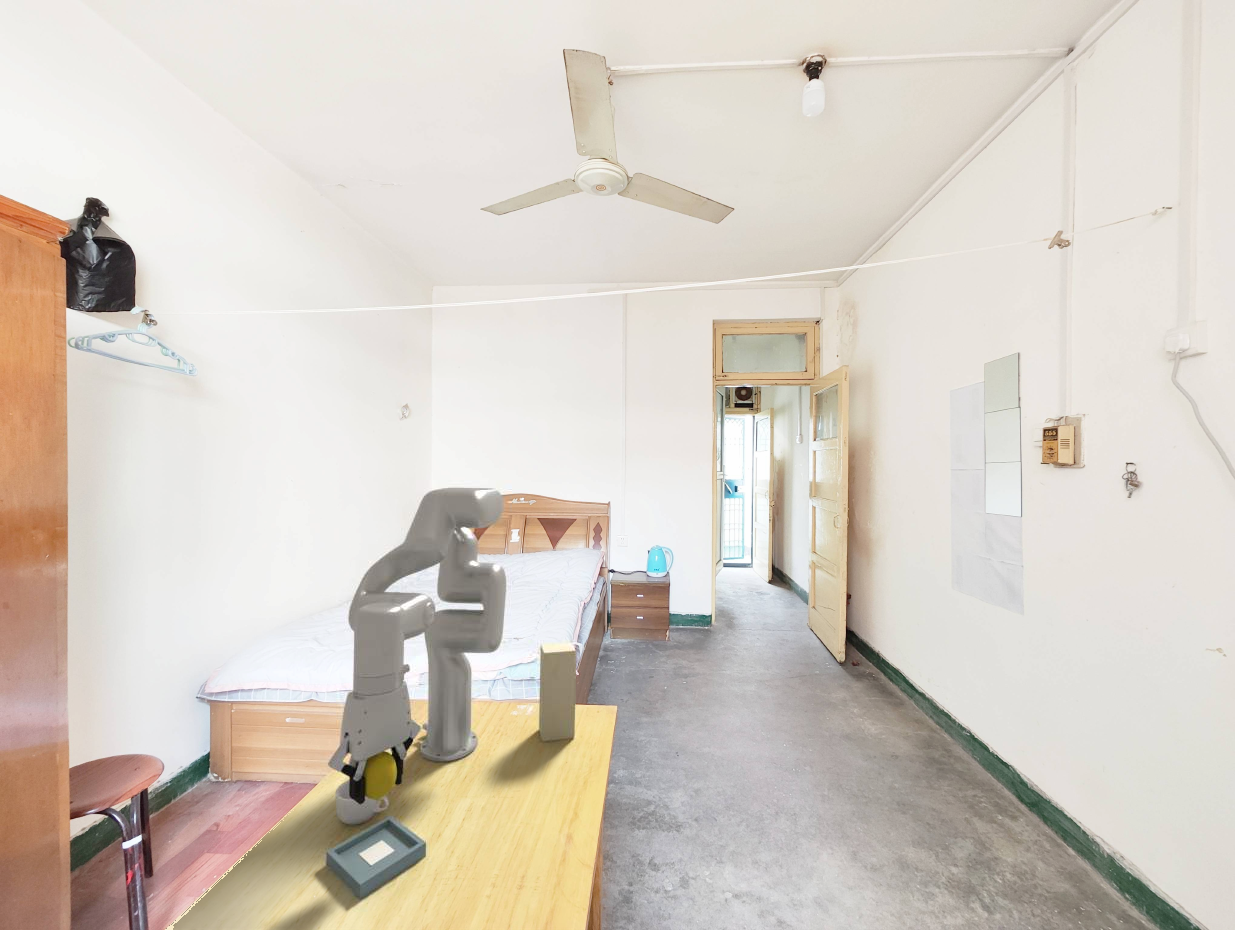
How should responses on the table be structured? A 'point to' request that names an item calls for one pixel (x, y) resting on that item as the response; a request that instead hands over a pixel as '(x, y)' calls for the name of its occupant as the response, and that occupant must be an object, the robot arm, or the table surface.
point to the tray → (375, 856)
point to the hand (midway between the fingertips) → (376, 789)
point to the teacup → (355, 806)
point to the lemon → (379, 775)
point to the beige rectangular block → (557, 691)
